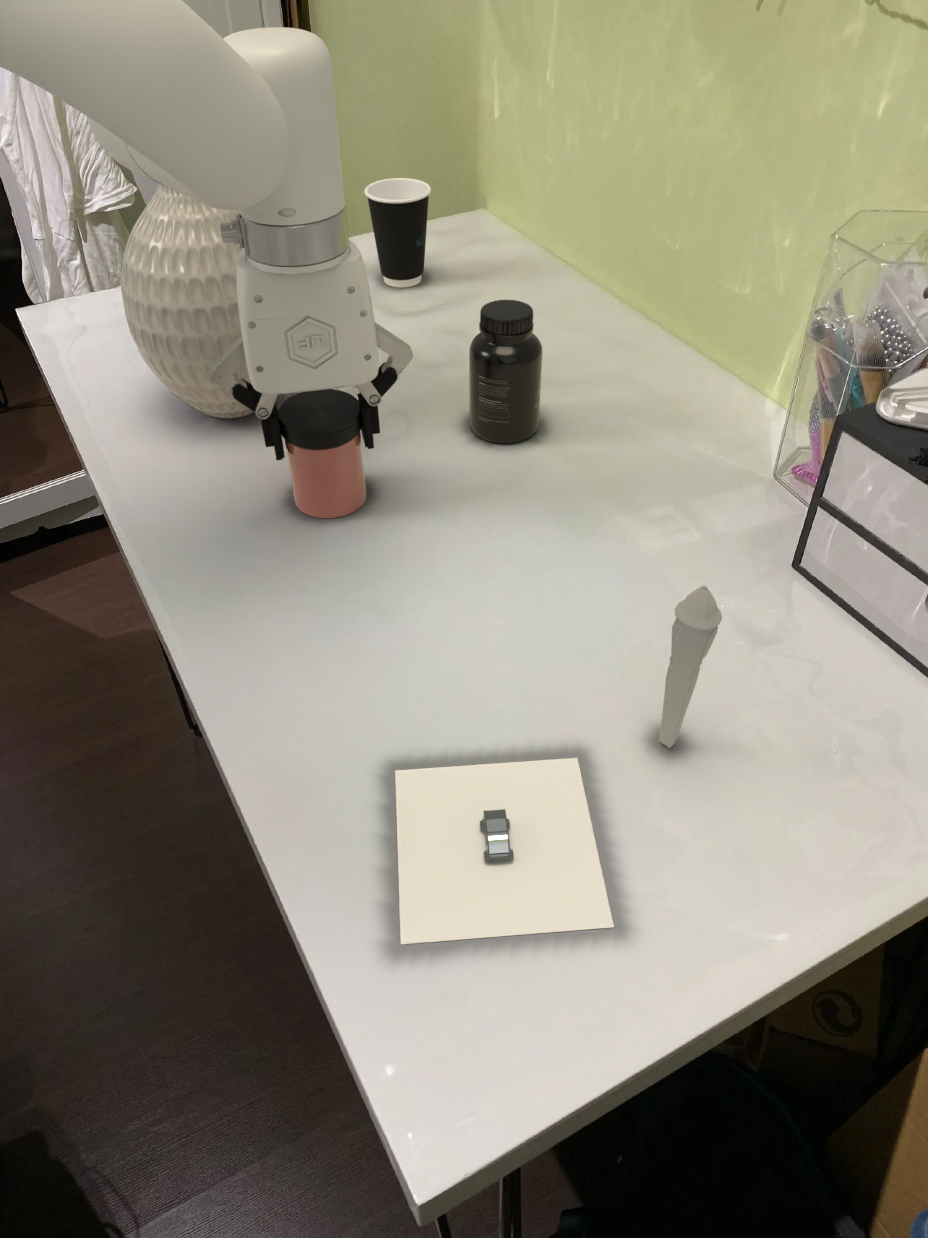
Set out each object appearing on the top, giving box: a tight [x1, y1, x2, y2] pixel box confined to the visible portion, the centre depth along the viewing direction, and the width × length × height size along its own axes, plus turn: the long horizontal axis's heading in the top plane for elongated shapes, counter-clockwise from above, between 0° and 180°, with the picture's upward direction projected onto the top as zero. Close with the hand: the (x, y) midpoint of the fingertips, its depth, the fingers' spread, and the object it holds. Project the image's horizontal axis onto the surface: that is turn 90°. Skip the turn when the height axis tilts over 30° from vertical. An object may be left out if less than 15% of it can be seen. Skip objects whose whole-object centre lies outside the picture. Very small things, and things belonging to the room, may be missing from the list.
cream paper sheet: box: [394, 757, 615, 945], centre depth 55 cm, size 12×12×2 cm
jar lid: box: [277, 388, 362, 449], centre depth 76 cm, size 7×7×2 cm
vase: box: [120, 183, 255, 419], centre depth 86 cm, size 16×16×22 cm
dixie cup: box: [364, 177, 432, 289], centre depth 112 cm, size 8×8×11 cm
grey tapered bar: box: [659, 585, 723, 749], centre depth 56 cm, size 2×3×14 cm
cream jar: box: [284, 431, 368, 519], centre depth 78 cm, size 6×6×8 cm
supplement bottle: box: [468, 299, 543, 444], centre depth 85 cm, size 7×7×12 cm
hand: (323, 444), depth 77 cm, fingers closed on jar lid, 7 cm apart
